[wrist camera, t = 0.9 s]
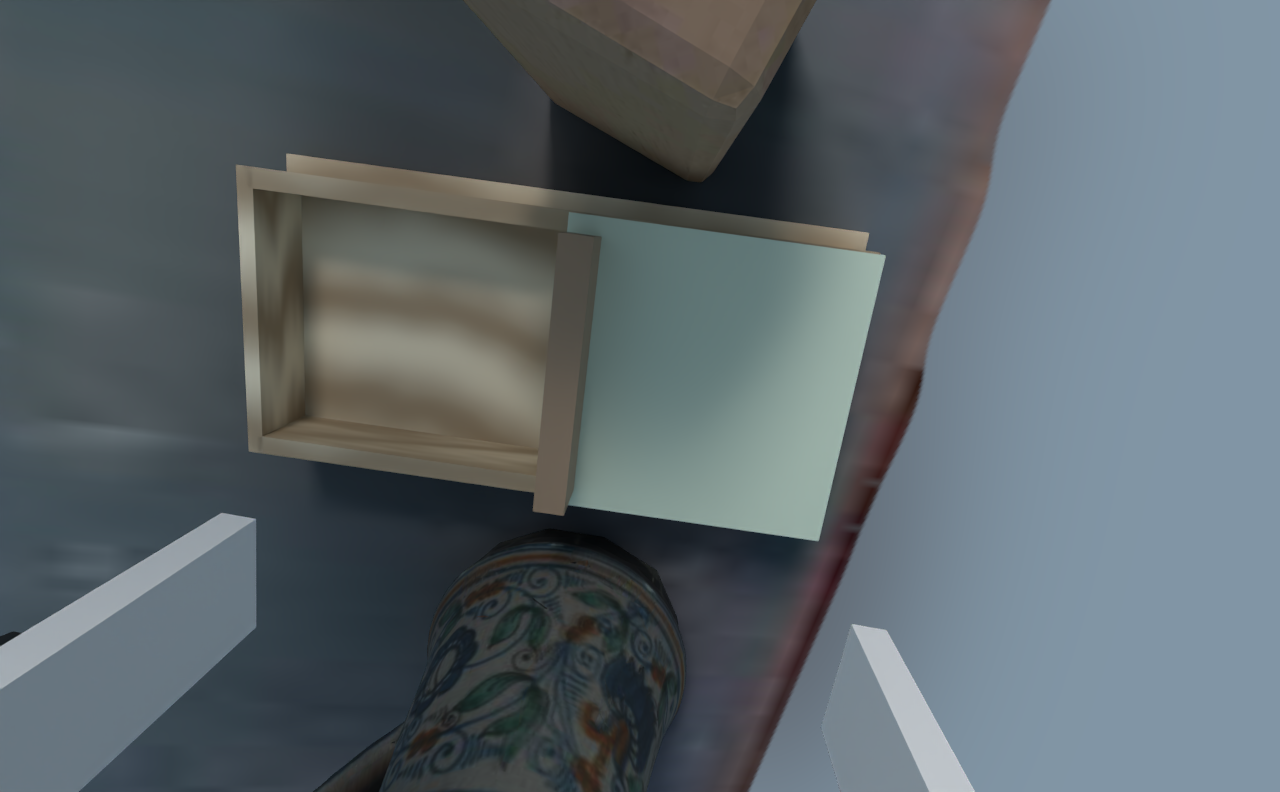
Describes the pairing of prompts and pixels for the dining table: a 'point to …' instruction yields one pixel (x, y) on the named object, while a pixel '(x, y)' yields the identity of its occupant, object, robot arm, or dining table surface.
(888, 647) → the robot arm
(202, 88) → the dining table surface
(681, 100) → the wooden block
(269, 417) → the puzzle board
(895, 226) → the dining table surface
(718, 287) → the lid
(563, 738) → the beer stein
